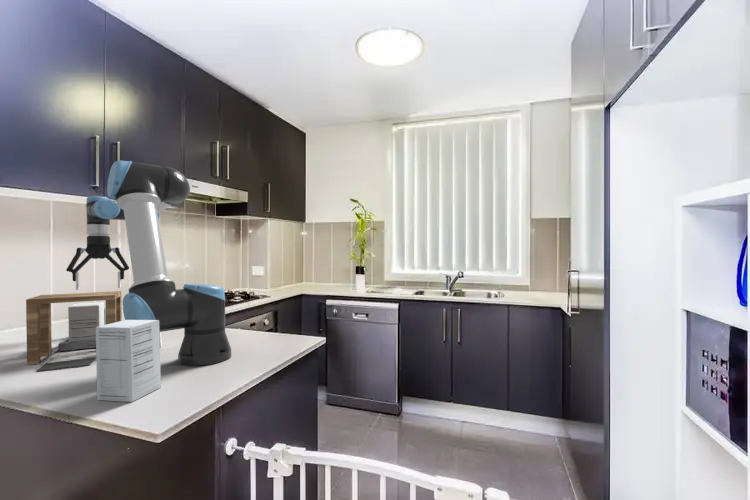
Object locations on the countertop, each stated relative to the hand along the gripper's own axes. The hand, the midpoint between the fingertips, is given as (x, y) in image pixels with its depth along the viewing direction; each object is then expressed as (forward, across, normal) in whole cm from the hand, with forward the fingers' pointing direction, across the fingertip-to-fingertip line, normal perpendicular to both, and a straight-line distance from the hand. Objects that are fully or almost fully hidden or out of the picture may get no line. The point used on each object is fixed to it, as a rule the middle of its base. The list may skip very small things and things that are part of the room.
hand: (99, 288), depth 151 cm
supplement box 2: (+19, -20, +78) cm, 83 cm away
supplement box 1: (+19, 0, +19) cm, 27 cm away
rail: (+19, 0, +24) cm, 31 cm away
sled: (+18, 0, +11) cm, 21 cm away
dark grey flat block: (+19, 0, +43) cm, 47 cm away
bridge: (+19, 0, +31) cm, 37 cm away
